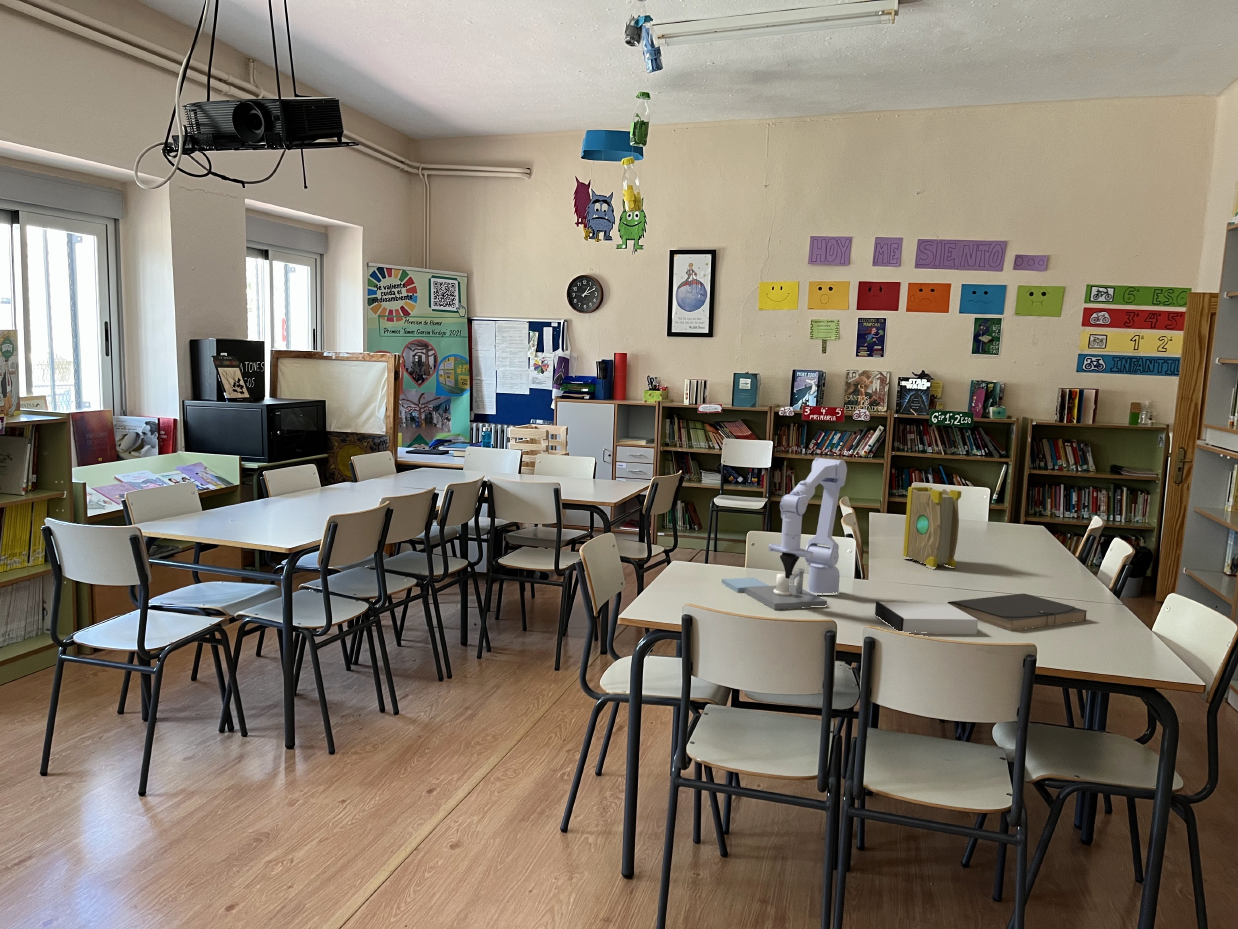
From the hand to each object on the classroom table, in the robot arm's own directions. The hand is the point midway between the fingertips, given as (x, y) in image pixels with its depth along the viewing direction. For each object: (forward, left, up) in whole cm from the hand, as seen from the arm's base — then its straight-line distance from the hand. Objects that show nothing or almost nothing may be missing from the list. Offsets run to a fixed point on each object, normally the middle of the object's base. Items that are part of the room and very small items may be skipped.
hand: (788, 577), depth 257 cm
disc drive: (-30, +26, -9) cm, 41 cm away
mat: (+3, -23, -9) cm, 24 cm away
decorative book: (-87, -45, -9) cm, 99 cm away
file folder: (-66, +22, -9) cm, 71 cm away
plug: (-1, -6, -9) cm, 10 cm away
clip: (-4, -2, -2) cm, 5 cm away
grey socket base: (-2, -6, -9) cm, 11 cm away
